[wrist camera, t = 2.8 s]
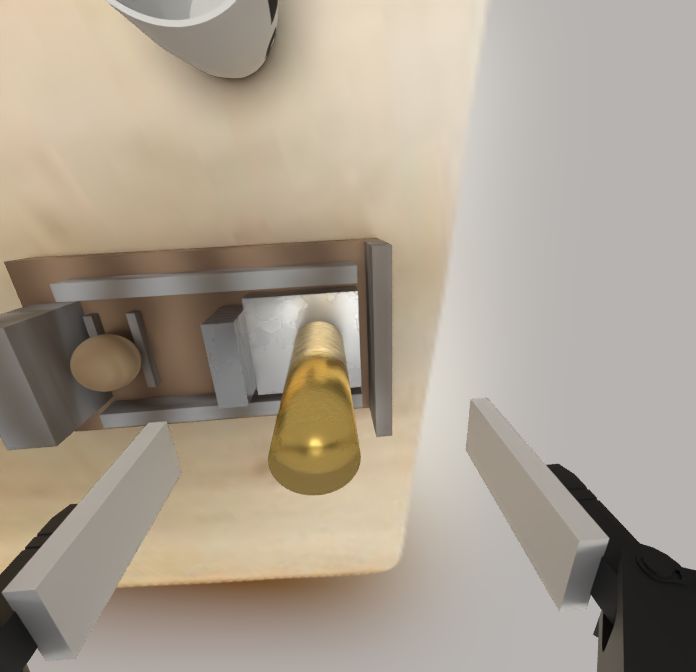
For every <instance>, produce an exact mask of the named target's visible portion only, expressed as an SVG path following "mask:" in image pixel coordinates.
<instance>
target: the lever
mask: <svg viewBox="0 0 696 672" xmlns="http://www.w3.org/2000/svg"><path fill="white" fill-rule="evenodd" d="M242 303H243V304H242V305H227V306H221V307H220V308H218V309H217V310H216V311H215V312H214V313H213V314H212V315H211V316H210V317H209V318H207V319H206V320H205V321H204V322H203V323H202V324H201V325H200V326H201V330H202V335H203V339H204V344H205V348H206V353H207V357H208V362H209V366H210V371H211V375H212V380H213V384H214V389H215V393H216V398H217V402H218V406H219V409H220V408H232V407H245V406H249V404H250V402H251V399H252V397H253V394H254V391H255V389H256V386H257V391H258V395H264V394H276V393H283V394H282V398H281V403H280V407H279V411H278V416H277V420H276V425H275V429H274V433H273V438H272V442H271V446H270V451H269V456H268V462H269V468H270V470H271V473H272V475H273V476H274V478H275V479H276V480H277V481H278V482H279V483H280V484H281V485H282V486H284V487H285V488H287V489H289V490H291V491H293V492H296V493H299V494H304V495H323V494H327V493H331V492H334V491H336V490H338V489H340V488H342V487H343V486H345V485H346V484H347V483H349V482H350V481H351V480H352V478H353V477H354V476H355V474H356V473H357V471H358V468H359V465H360V458H361V456H360V448H359V442H358V435H357V429H356V422H355V415H354V409H353V402H352V395H351V389H350V388H353V387H361V362H360V337H359V312H358V291H357V289H356V287H341V288H325V289H309V290H294V291H278V292H263V293H247V294H246V295H245V296H244V297H243V298H242Z"/></svg>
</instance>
